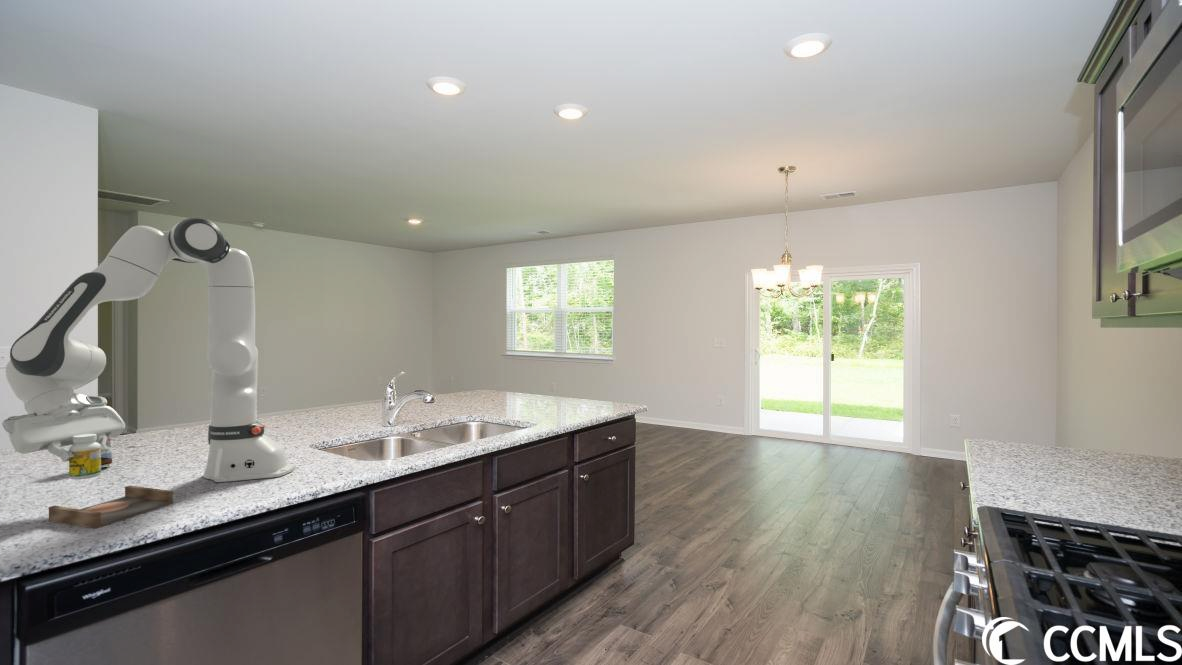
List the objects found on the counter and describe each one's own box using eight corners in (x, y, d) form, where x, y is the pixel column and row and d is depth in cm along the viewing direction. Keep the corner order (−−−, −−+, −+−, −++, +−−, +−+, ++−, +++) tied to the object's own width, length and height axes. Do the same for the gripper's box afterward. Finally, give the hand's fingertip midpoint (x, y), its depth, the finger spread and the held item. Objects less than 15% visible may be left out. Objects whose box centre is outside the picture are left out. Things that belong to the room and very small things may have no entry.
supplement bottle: (107, 473, 127) (107, 433, 126) (84, 480, 121) (84, 438, 121) (85, 473, 127) (85, 432, 127) (62, 479, 122) (61, 437, 121)
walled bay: (48, 520, 116) (48, 507, 116) (129, 497, 131) (129, 485, 131) (95, 528, 112) (95, 514, 112) (173, 503, 128) (173, 491, 128)
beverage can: (95, 472, 152) (95, 430, 152) (74, 470, 154) (74, 428, 154) (118, 466, 158) (118, 425, 158) (98, 464, 160) (98, 424, 160)
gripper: (5, 408, 116) (36, 457, 113) (112, 396, 135) (141, 438, 133) (-9, 428, 117) (22, 477, 114) (99, 413, 137) (127, 454, 134)
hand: (87, 455), depth 124 cm, fingers closed on supplement bottle, 5 cm apart
